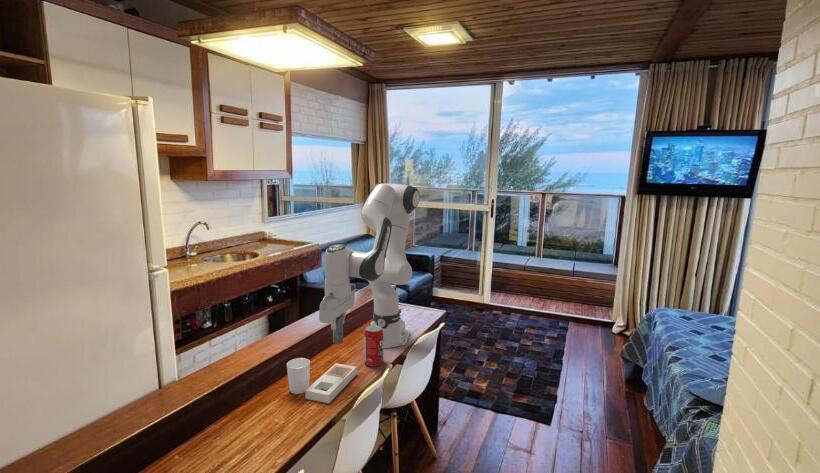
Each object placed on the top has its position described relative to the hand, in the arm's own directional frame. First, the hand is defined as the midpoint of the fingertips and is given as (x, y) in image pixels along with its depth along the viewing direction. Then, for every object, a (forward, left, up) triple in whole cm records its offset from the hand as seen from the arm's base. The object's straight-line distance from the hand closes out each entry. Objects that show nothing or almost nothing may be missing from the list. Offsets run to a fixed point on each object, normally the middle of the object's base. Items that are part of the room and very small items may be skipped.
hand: (337, 326), depth 149 cm
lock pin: (0, 0, -6) cm, 6 cm away
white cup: (+11, -10, -21) cm, 26 cm away
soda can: (-16, +7, -21) cm, 27 cm away
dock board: (+5, 0, -21) cm, 21 cm away
